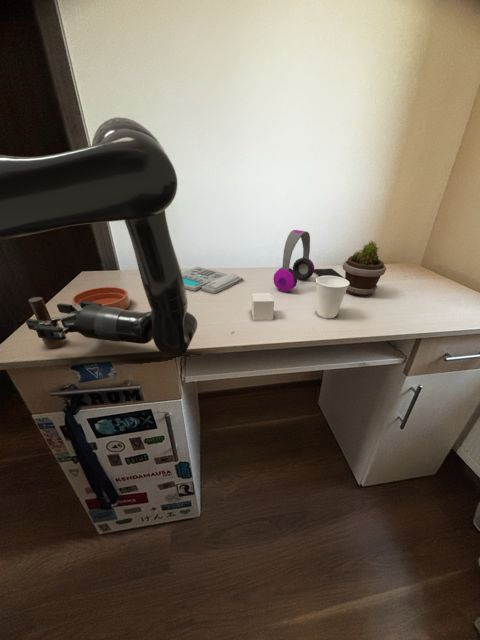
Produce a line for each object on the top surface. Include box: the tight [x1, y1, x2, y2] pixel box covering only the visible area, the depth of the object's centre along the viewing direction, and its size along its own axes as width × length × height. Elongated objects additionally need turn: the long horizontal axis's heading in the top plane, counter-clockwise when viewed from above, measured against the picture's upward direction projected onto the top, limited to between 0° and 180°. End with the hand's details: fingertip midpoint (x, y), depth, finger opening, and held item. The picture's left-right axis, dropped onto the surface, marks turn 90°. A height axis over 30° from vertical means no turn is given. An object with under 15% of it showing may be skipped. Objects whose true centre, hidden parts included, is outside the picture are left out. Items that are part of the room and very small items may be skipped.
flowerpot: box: [341, 239, 387, 298], centre depth 101 cm, size 14×15×20 cm
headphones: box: [272, 229, 315, 293], centre depth 105 cm, size 21×9×20 cm, turn 148°
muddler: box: [28, 296, 65, 350], centre depth 66 cm, size 4×4×12 cm
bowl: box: [70, 286, 131, 310], centre depth 86 cm, size 15×15×4 cm
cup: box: [315, 276, 350, 319], centre depth 86 cm, size 10×10×11 cm
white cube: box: [251, 292, 275, 321], centre depth 86 cm, size 6×6×6 cm
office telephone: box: [181, 266, 243, 294], centre depth 109 cm, size 23×3×20 cm
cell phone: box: [313, 268, 345, 279], centre depth 119 cm, size 9×18×1 cm, turn 12°
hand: (44, 315), depth 65 cm, fingers open, 8 cm apart
